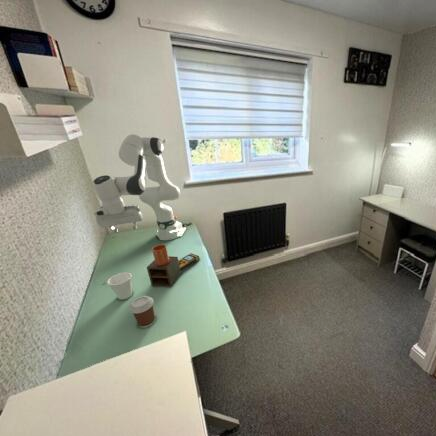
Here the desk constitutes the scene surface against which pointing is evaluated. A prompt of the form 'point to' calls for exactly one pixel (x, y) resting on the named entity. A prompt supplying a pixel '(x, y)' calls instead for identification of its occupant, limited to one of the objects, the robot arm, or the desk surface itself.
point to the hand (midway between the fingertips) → (126, 230)
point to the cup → (121, 285)
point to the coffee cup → (143, 311)
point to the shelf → (169, 271)
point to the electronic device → (187, 261)
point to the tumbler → (160, 254)
